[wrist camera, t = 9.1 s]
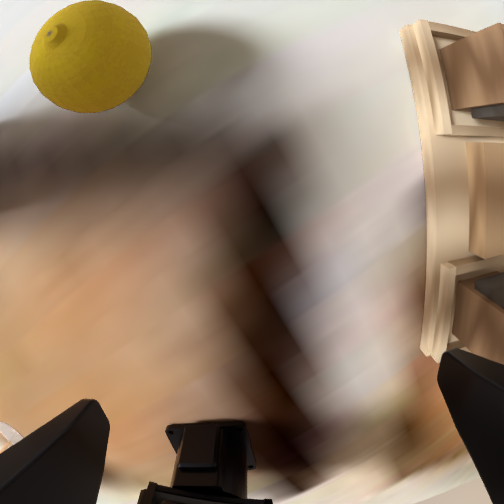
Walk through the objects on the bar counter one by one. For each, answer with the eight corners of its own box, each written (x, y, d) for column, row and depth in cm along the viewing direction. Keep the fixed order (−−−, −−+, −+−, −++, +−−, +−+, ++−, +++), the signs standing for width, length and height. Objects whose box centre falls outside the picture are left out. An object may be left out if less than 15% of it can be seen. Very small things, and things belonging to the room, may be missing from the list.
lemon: (154, 21, 14) (104, -47, 7) (178, 98, 16) (127, 56, 8) (75, 59, 15) (-4, 23, 7) (93, 135, 16) (6, 128, 9)
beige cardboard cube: (439, 49, 14) (498, 22, 8) (482, 58, 14) (542, 41, 8) (452, 119, 15) (520, 113, 9) (495, 122, 15) (559, 121, 9)
